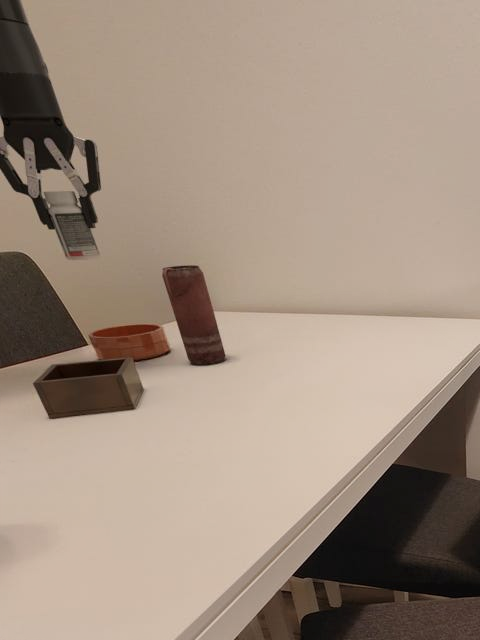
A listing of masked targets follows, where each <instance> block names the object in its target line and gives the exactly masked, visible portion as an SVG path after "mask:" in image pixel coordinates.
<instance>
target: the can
mask: <svg viewBox="0 0 480 640" xmlns="http://www.w3.org/2000/svg"><path fill="white" fill-rule="evenodd" d="M161 275H162V279H163V282H164V287H165V289H166V292H167V296H168V298H169V301H170V305H171V308H172V311H173V315H174V318H175V322H176V325H177V327H178V331H179V334H180V337H181V341H182V344H183V347H184V350H185V353H186V356H187V360H188V361H189V362H190V364H192V365H195V366H209V365H215V364H220V363H222V362H224V361H225V359H226V352H225V348H224V344H223V341H222V337H221V333H220V330H219V327H218V322H217V319H216V316H215V312H214V307H213V304H212V301H211V297H210V293H209V290H208V286H207V282H206V279H205V275H204V272H203V271H202V269H201V268H200V266H199V265H192V264H191V265H175V266H167V267H163V268H162V274H161Z"/></svg>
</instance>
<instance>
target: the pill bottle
mask: <svg viewBox="0 0 480 640" xmlns="http://www.w3.org/2000/svg"><path fill="white" fill-rule="evenodd" d="M43 196H44V198H45V199H46V202H47V204H48V205H50V206H49V209H48V212H49V215H50V218H51V220H52V223H53V225H54V228H55V229H54V230H55V233H56V235H57V238H58V241H59V243H60V246H61V248H62V251H63V254H64V256H65V259H67V260H68V261H88V260H97V259H100V258H101V255H100V252H99V249H98V246H97V243H96V240H95V237H94V234H93V232H92V228H89V227H88V225H87V222H86V219H85V216H84V213H83V210H82V208H81V205H79V199H78V197H77V195H76V192H75V191H73V190H70V191H69V190H67V191H66V190H64V191H63V190H62V191H61V190H60V191H43Z"/></svg>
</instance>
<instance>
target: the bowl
mask: <svg viewBox="0 0 480 640" xmlns="http://www.w3.org/2000/svg"><path fill="white" fill-rule="evenodd" d="M88 338H89V340H90V342H91V346H92V348H93V351H94V353H95V356H96V358H97V359H98V360H106V359H117V358H128V357H132V358H133V361H134V362H135V361H143V360H147V359H153V358H157V357H159V356H163V355H164V354H166V353H167V352H168V351H170V350H171V345H170V343H169V340H168V336H167V333H166V331H165V327H164V326H163V325H162V324H156V323H134V324H133V323H132V324H122V325H115V326H108V327H104V328H100V329H96V330H94V331H91V332H89V333H88Z"/></svg>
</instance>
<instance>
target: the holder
mask: <svg viewBox="0 0 480 640" xmlns="http://www.w3.org/2000/svg"><path fill="white" fill-rule="evenodd" d="M32 384H33V387H34V389H35V391H36V393H37V396H38V397H39V400H40V402H41V404H42V406H43V408H44V410H45V413H46V415H47V417H48V418H49V419H56V418H65V417H75V416H85V415H90V414H91V415H93V414H100V413H101V414H102V413H109V412H111V413H112V412H118V411H120V412H121V411H129V410H135V409H136V407H137V405H138V402H139V401H140V398H141V396H142V394H143V391H144V386H143V383H142V380H141V378H140V375H139V372H138V369H137V367H136V363H135V361H133V358H132V357H128V358H117V359H106V360H103V359H97V360H85V361H76V362H65V363H64V362H63V363H54V364H53V363H52V364H51V365H50V366H49V367H48V368H47V369H45V371H44V372H43V373H41V374H40V375H39V377H37V378H36V379H35V380H34V381H33V382H32Z"/></svg>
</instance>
